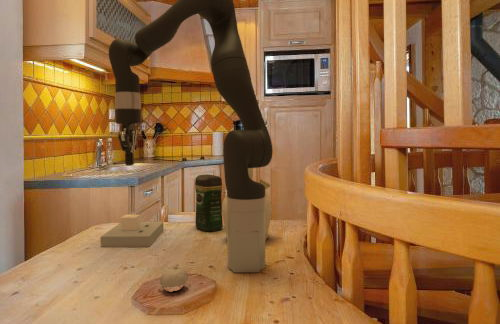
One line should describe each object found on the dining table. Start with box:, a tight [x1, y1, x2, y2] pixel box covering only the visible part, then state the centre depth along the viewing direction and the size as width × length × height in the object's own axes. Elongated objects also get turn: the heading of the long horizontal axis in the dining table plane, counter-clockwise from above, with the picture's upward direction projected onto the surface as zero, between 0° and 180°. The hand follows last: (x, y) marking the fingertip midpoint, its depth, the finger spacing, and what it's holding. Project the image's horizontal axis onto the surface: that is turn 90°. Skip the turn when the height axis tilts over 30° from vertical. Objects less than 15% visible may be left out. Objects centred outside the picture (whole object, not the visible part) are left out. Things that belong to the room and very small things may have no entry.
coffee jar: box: [194, 173, 224, 232], centre depth 132 cm, size 10×8×19 cm
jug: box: [222, 168, 273, 241], centre depth 119 cm, size 15×16×25 cm
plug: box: [120, 214, 141, 231], centre depth 121 cm, size 4×4×6 cm
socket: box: [100, 221, 164, 248], centre depth 121 cm, size 18×14×4 cm
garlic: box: [159, 263, 189, 288], centre depth 81 cm, size 6×5×5 cm
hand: (129, 165), depth 119 cm, fingers closed
